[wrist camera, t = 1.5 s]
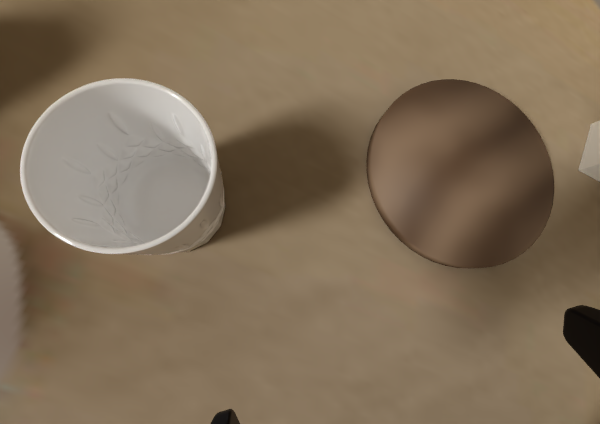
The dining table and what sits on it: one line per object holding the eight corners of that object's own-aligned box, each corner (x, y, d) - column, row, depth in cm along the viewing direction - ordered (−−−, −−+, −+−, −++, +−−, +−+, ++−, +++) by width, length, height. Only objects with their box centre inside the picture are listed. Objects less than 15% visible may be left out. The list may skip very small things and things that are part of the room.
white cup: (98, 199, 22) (-23, 145, 13) (189, 137, 24) (144, 46, 14) (167, 284, 22) (96, 295, 12) (254, 214, 24) (253, 175, 14)
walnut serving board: (572, 173, 28) (586, 169, 27) (475, 310, 25) (485, 312, 24) (441, 54, 29) (449, 45, 28) (327, 171, 25) (330, 166, 24)
